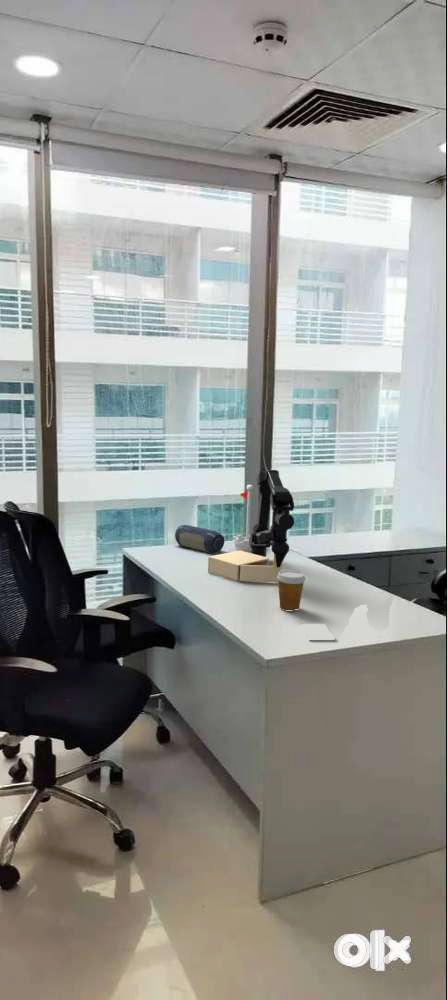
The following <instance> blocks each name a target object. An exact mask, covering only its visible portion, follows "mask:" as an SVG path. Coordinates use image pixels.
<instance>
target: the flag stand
mask: <svg viewBox="0 0 447 1000" xmlns="http://www.w3.org/2000/svg"><path fill="white" fill-rule="evenodd" d="M253 489H254V486H253V485H252V484H247V486H246V491H244V492H242V493H240V494H239V495H240V497H242V498H244V499H245V500H247V509H246V528H245V529H246V531H245V536H243V534H236V535H234V536H233V539H232V542H233V544H234V549H235V551H244V552H248V553H251V550H252V547H250V546H249V538H250V535H251V534H250V527H251V526H250V525H251V510H252V509H251V506H252V491H253ZM252 544H253V543H252Z"/></svg>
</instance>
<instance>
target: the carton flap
mask: <svg viewBox="0 0 447 1000" xmlns="http://www.w3.org/2000/svg"><path fill="white" fill-rule="evenodd" d="M272 564H273V565H269V566H258V565H240V581H239V582H256V583H278V579H277V576H278V573H279V572H281V571H283V570H282V565H281V566H280V567H277V565H276V557H275V555H274V554H273V563H272Z"/></svg>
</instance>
